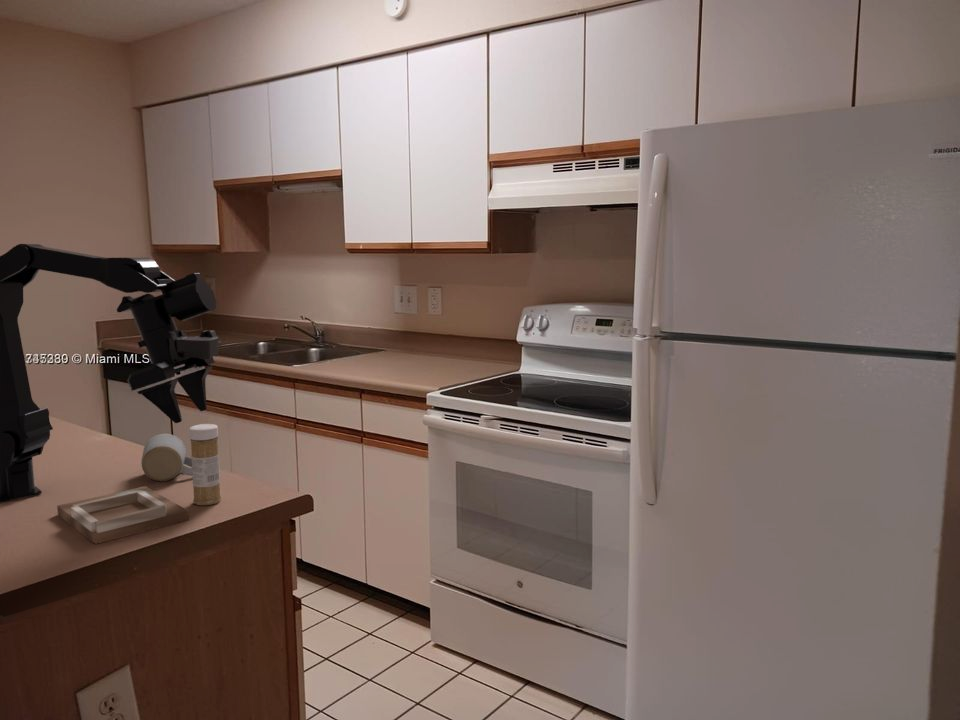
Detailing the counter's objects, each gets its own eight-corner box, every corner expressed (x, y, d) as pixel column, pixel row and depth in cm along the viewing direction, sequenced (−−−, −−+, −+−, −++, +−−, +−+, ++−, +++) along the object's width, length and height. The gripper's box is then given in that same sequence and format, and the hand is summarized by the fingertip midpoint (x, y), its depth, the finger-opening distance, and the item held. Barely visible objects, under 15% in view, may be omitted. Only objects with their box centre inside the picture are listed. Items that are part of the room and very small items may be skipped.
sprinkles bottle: (215, 495, 127) (212, 421, 125) (225, 502, 123) (221, 426, 121) (189, 501, 124) (185, 425, 122) (197, 508, 120) (194, 430, 118)
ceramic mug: (141, 485, 132) (139, 444, 131) (144, 472, 139) (143, 434, 138) (202, 480, 136) (201, 441, 135) (202, 468, 143) (201, 431, 142)
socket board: (57, 514, 117) (56, 496, 116) (145, 494, 127) (144, 478, 126) (95, 544, 105) (93, 524, 105) (188, 519, 115) (187, 501, 115)
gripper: (174, 319, 110) (210, 414, 112) (224, 310, 128) (255, 391, 130) (109, 341, 111) (146, 435, 113) (169, 329, 130) (200, 409, 131)
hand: (191, 416), depth 122 cm, fingers open, 9 cm apart
